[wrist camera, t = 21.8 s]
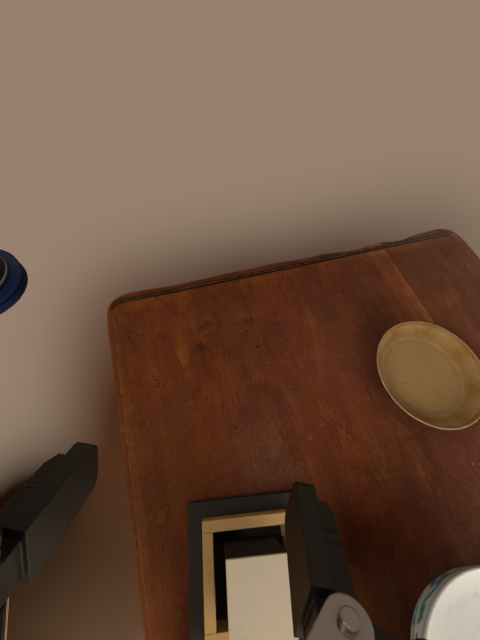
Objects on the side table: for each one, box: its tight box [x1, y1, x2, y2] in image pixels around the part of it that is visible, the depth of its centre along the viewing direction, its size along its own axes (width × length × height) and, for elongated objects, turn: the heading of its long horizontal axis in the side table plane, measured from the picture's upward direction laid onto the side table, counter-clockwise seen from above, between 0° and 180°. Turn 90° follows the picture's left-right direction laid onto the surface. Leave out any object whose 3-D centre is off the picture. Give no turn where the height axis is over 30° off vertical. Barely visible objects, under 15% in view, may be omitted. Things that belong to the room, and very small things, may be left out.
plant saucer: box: [377, 321, 480, 430], centre depth 40 cm, size 15×15×3 cm
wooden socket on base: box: [189, 491, 304, 640], centre depth 28 cm, size 12×12×4 cm
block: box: [224, 535, 299, 640], centre depth 25 cm, size 5×5×8 cm
